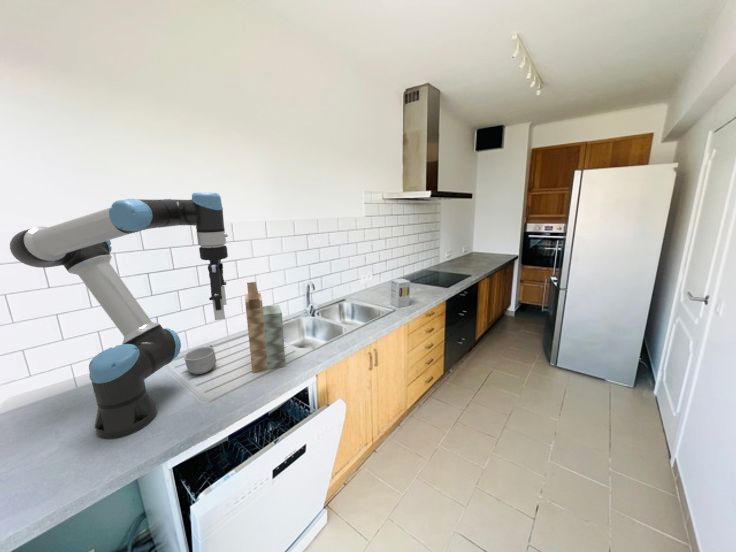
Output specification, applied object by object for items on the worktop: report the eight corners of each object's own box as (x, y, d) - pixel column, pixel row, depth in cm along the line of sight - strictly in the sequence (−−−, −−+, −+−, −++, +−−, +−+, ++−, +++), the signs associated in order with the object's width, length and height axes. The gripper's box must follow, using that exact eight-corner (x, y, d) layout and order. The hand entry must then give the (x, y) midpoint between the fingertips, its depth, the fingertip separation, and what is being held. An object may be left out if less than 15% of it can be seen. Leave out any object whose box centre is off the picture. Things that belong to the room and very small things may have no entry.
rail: (249, 309, 105) (248, 300, 104) (247, 290, 126) (247, 282, 125) (260, 308, 106) (259, 298, 105) (256, 289, 128) (255, 281, 127)
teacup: (204, 379, 115) (201, 360, 113) (180, 375, 117) (176, 357, 115) (227, 360, 129) (225, 343, 127) (205, 357, 131) (203, 341, 129)
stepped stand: (252, 373, 119) (245, 302, 112) (251, 361, 128) (244, 294, 121) (285, 366, 124) (280, 298, 117) (282, 355, 133) (277, 291, 126)
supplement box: (397, 307, 193) (398, 282, 189) (389, 303, 201) (390, 279, 196) (409, 305, 197) (410, 281, 193) (401, 301, 205) (402, 277, 201)
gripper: (225, 251, 80) (233, 324, 85) (227, 239, 102) (234, 298, 108) (193, 253, 77) (204, 328, 83) (203, 241, 99) (211, 301, 105)
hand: (221, 311), depth 95 cm, fingers open, 13 cm apart
